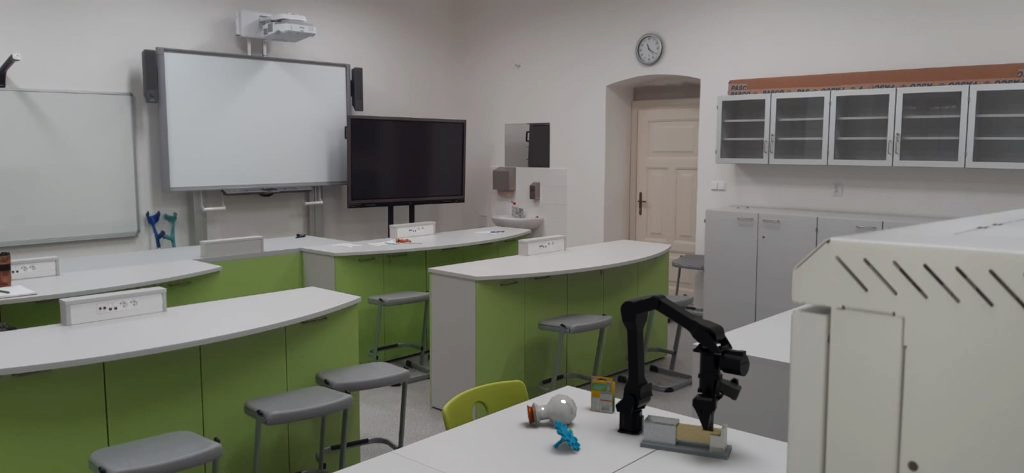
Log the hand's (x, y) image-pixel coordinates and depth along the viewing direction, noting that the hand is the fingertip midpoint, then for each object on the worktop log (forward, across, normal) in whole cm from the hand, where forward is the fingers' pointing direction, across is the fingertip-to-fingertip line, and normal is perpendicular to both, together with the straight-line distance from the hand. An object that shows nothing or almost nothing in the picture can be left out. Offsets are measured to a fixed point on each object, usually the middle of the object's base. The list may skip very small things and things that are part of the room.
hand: (708, 424), depth 220 cm
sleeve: (+8, 0, +13) cm, 15 cm away
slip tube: (+5, 0, +3) cm, 6 cm away
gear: (+8, -14, +36) cm, 40 cm away
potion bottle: (+8, +3, +47) cm, 48 cm away
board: (+8, 0, +6) cm, 10 cm away
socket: (+8, 0, -3) cm, 8 cm away
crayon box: (+8, +23, +37) cm, 44 cm away
